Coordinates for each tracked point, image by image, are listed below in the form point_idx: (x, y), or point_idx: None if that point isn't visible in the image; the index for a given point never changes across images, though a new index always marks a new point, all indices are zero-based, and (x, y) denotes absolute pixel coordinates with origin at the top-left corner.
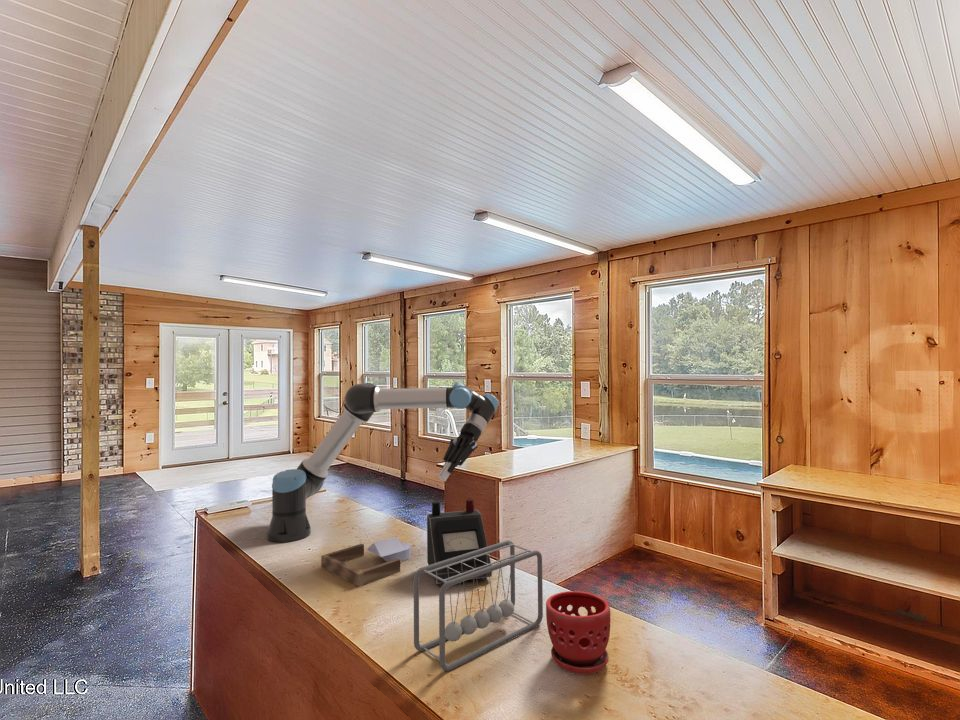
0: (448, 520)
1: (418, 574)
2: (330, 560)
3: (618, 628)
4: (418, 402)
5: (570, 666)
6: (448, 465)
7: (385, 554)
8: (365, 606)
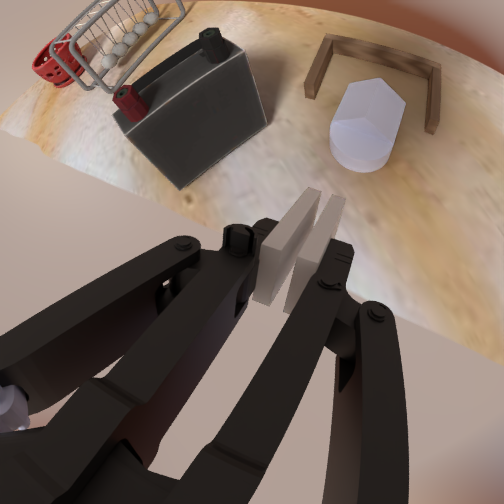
0: (176, 52)
1: None
2: (411, 54)
3: (38, 126)
4: None
5: None
6: (278, 227)
7: (348, 89)
8: (278, 26)
